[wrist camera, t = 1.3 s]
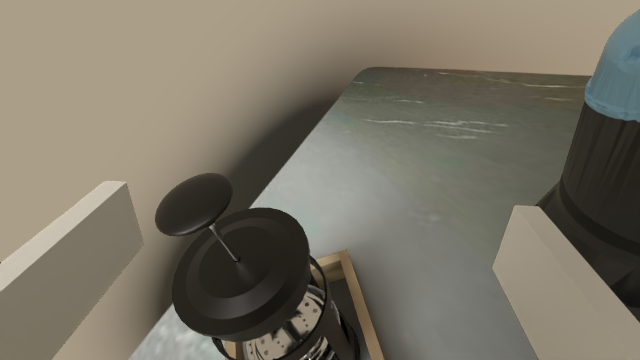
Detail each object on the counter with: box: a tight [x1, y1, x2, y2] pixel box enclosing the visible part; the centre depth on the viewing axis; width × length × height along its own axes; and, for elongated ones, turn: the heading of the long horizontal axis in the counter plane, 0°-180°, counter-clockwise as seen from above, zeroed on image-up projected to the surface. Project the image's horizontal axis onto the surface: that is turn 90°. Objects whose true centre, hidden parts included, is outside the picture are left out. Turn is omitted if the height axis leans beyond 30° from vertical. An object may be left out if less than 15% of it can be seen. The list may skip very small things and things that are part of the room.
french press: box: [155, 173, 360, 360], centre depth 25 cm, size 12×9×23 cm
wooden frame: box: [225, 249, 384, 360], centre depth 31 cm, size 14×17×4 cm
